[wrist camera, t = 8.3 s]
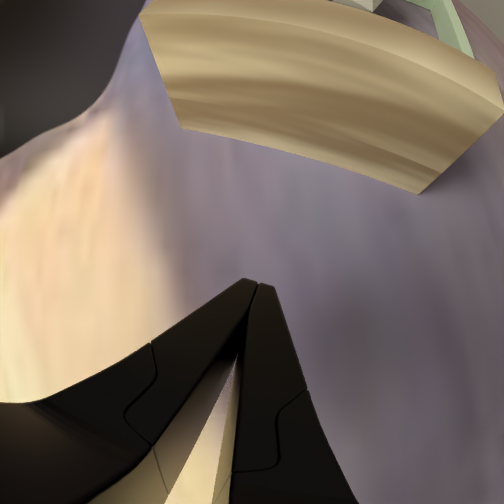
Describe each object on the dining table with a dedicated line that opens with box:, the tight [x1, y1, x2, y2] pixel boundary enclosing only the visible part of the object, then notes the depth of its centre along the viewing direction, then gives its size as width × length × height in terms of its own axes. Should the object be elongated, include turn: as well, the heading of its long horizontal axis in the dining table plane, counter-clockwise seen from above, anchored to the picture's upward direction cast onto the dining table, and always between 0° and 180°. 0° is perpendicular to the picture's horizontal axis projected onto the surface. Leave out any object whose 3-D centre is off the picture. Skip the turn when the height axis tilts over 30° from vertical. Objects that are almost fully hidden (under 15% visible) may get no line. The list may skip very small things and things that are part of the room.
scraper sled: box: [139, 0, 504, 195], centre depth 13 cm, size 13×14×8 cm
